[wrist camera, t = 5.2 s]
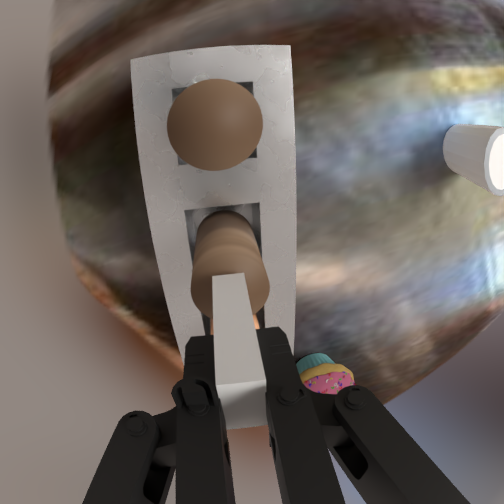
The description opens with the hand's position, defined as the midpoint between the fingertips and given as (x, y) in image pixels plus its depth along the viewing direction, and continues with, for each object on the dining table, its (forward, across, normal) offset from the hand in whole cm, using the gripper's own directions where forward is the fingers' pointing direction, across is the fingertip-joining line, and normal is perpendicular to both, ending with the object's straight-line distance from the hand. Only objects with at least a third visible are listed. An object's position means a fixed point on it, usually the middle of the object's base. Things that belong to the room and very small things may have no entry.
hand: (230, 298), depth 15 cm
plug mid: (+8, 0, 0) cm, 8 cm away
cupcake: (+13, +9, -21) cm, 26 cm away
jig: (+13, 0, 0) cm, 13 cm away
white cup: (+13, +26, +6) cm, 30 cm away
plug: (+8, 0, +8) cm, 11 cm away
